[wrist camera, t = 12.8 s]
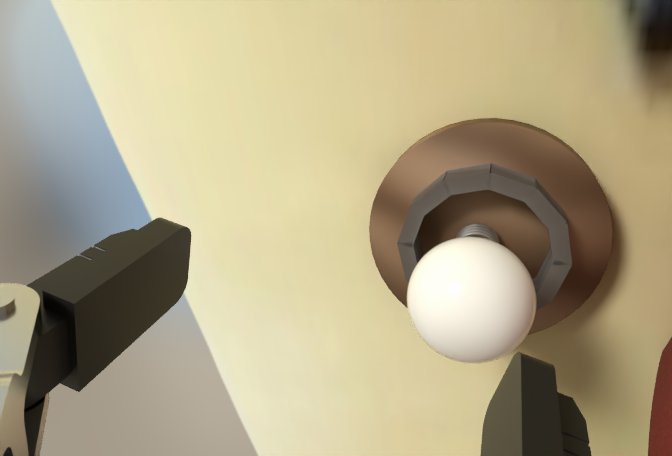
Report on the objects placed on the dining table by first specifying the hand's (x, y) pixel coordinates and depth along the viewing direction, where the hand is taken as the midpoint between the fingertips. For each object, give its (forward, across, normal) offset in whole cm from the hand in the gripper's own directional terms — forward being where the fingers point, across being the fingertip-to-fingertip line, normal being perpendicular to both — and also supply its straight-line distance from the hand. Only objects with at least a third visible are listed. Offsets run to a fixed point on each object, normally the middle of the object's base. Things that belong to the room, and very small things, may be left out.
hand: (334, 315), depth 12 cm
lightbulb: (+21, -4, +7) cm, 23 cm away
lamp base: (+23, -5, +7) cm, 25 cm away
